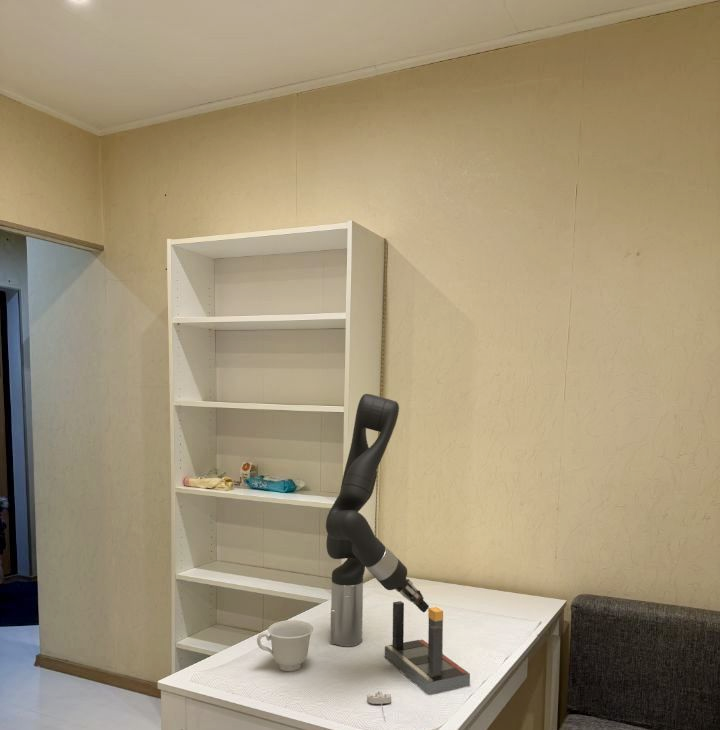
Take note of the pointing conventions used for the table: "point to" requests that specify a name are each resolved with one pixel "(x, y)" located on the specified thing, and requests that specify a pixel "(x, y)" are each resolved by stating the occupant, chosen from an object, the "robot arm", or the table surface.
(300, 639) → the teacup
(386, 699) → the game controller
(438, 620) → the lever
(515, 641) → the table surface
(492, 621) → the table surface
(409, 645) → the pillared base stand
